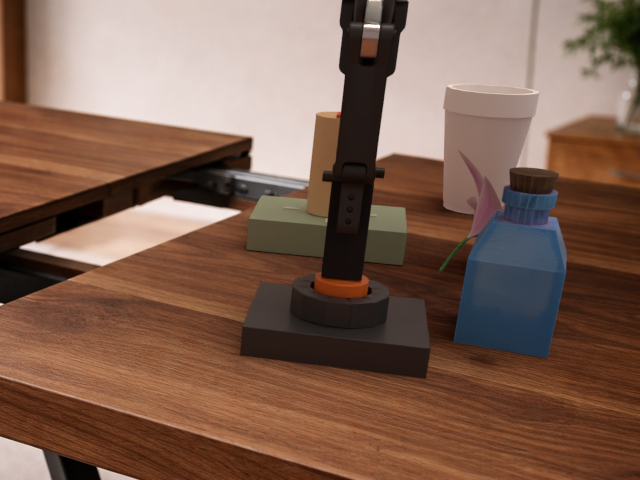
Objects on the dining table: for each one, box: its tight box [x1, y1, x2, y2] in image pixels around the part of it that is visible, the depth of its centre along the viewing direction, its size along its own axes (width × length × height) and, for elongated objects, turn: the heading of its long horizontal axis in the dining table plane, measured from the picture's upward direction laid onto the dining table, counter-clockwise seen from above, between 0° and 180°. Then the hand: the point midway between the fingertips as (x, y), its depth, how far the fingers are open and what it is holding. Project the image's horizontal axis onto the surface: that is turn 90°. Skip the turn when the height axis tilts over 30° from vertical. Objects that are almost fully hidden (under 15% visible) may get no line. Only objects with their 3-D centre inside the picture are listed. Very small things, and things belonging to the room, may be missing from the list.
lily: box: [438, 150, 505, 273], centre depth 82 cm, size 12×12×10 cm
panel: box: [245, 194, 408, 266], centre depth 90 cm, size 14×10×3 cm
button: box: [314, 270, 369, 298], centre depth 65 cm, size 4×4×2 cm
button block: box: [239, 273, 432, 379], centre depth 66 cm, size 12×10×4 cm
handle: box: [306, 111, 341, 217], centre depth 88 cm, size 4×4×9 cm
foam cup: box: [442, 83, 540, 216], centre depth 104 cm, size 10×9×13 cm
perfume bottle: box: [453, 166, 568, 359], centre depth 67 cm, size 6×6×12 cm
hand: (341, 275), depth 65 cm, fingers closed
